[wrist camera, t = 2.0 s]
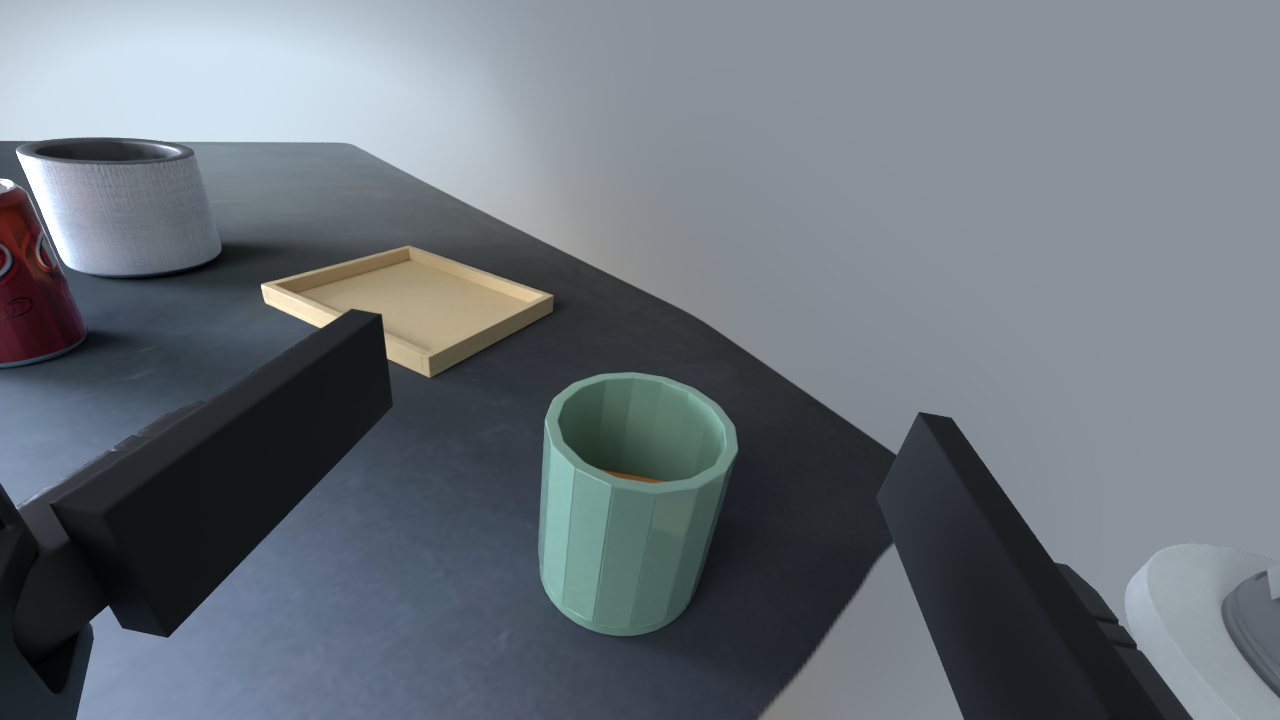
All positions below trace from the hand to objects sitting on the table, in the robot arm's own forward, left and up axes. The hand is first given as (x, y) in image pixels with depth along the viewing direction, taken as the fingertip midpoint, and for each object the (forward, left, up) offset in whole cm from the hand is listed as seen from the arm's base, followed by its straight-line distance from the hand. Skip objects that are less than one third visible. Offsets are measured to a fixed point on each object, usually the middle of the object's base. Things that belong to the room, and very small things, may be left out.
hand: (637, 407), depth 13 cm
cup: (+3, -9, -17) cm, 20 cm away
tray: (+36, -25, -17) cm, 47 cm away
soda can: (+51, -1, -18) cm, 54 cm away
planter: (+64, -15, -18) cm, 68 cm away
